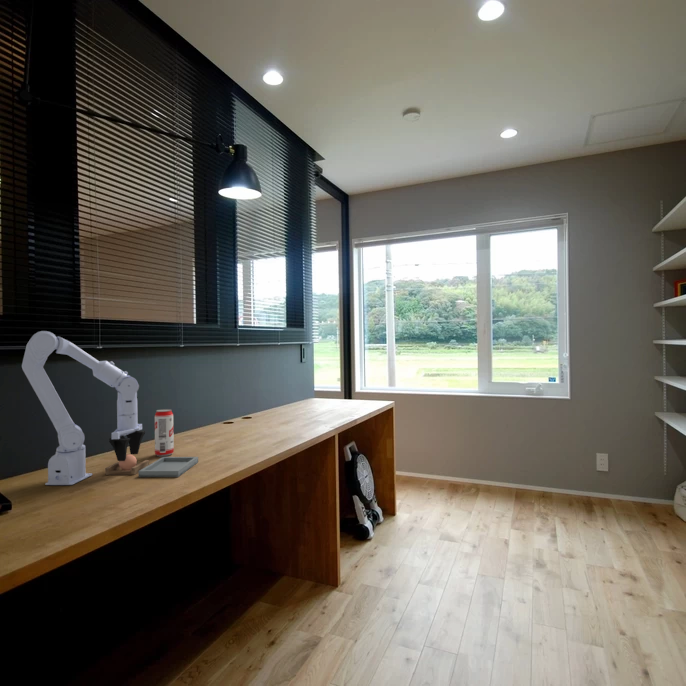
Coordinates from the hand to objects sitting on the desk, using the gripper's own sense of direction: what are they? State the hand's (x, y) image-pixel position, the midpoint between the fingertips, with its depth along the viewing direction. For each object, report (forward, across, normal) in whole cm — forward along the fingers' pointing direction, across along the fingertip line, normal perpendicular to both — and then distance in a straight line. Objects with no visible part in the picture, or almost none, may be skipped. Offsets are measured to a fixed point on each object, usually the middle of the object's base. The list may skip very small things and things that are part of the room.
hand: (128, 457), depth 133 cm
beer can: (+4, +19, -3) cm, 20 cm away
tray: (+4, +1, -13) cm, 14 cm away
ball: (+2, 0, 0) cm, 2 cm away
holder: (+4, 0, 0) cm, 4 cm away
